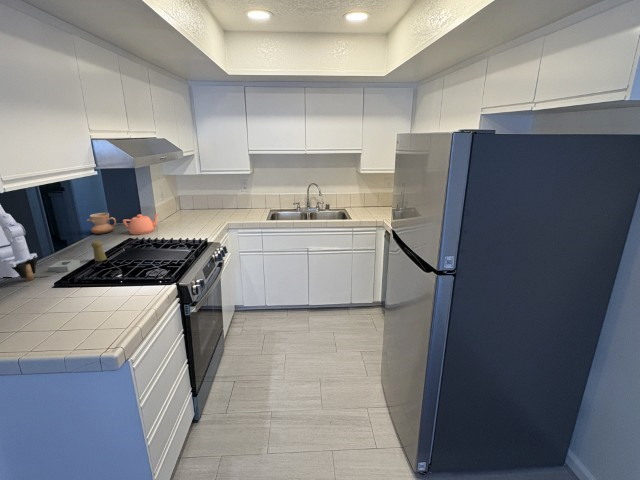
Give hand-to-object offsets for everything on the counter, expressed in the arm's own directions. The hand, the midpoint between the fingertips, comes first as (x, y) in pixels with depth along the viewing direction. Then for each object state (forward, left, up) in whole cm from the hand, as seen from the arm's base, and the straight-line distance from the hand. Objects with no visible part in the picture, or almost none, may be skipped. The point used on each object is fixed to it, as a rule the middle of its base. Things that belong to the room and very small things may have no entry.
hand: (28, 275), depth 166 cm
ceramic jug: (-12, +89, -3) cm, 90 cm away
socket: (+8, +14, -2) cm, 16 cm away
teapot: (+19, +85, -3) cm, 87 cm away
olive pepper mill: (+20, +26, -3) cm, 33 cm away
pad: (+3, +7, -2) cm, 8 cm away
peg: (0, 0, -2) cm, 2 cm away
